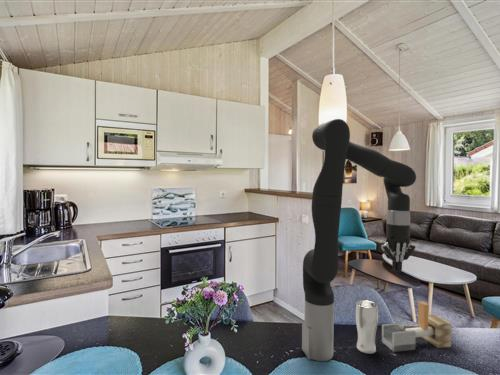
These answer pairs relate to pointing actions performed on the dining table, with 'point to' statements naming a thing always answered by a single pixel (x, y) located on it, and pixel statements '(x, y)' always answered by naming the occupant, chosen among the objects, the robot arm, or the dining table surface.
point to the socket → (439, 332)
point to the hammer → (423, 322)
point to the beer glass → (366, 325)
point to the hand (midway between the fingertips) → (397, 271)
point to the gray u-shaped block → (398, 337)
